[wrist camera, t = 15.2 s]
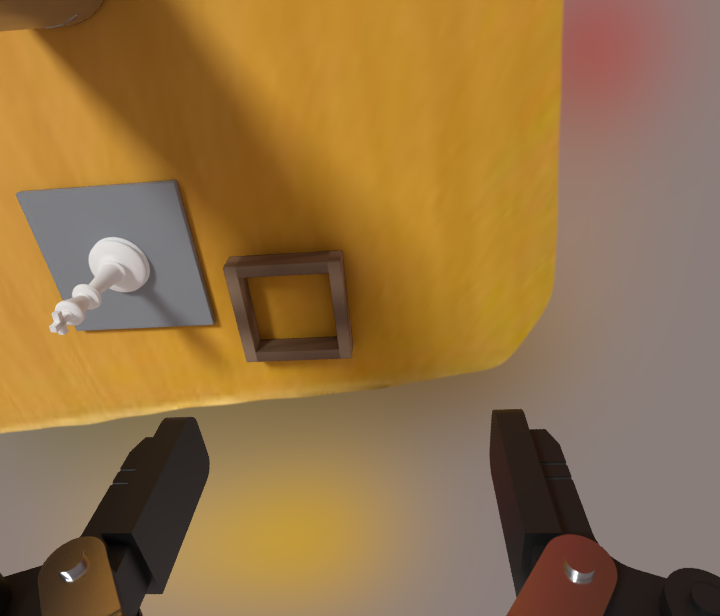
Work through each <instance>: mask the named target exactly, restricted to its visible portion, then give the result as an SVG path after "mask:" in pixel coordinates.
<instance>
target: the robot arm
mask: <svg viewBox="0 0 720 616" xmlns="http://www.w3.org/2000/svg"><path fill="white" fill-rule="evenodd" d="M102 2H103V0H0V31H11V30H24V29H36V28H41V29H44V28H45V29H46V28H55V27H61V26H69V25H73V24H77V23H80V22H82V21H83V20H85V19H87V18H89V17H90V16H92V14H93V13H94V12H95V11H96V10H97V9H98V8H99V7H100V6H101V4H102ZM490 467H491V475H492V480H493V485H494V490H495V494H496V499H497V504H498V509H499V514H500V519H501V523H502V528H503V533H504V538H505V543H506V548H507V553H508V558H509V563H510V568H511V572H512V577H513V582H514V587H515V591H516V597H517V598H516V600H515V602H514V603H513V605H512V607H511V608H510V610H509V612H508V614H507V615H506V616H720V577H718V576H716V575H714V574H712V573H709V572H707V571H704V570H700V569H694V568H683V569H678V570H677V571H674V572H673V573H671V574H670V575H669V577H668V578H663V577H660V576H656V575H653V574H650V573H646V572H642V571H640V570H636V569H633V568H630V567H628V566H626V565H624V564H622V563H620V562H618V561H617V560H615V559H613V558H612V557H611V556H610V555H609V554H608V552H607V551H606V550H605V549H604V548H603V547H601V546H600V545H599V544H598V542H597V541H596V539H595V537H594V535H593V533H592V530H591V528H590V525H589V522H588V520H587V517H586V514H585V512H584V509H583V506H582V504H581V501H580V498H579V495H578V493H577V490H576V488H575V485H574V482H573V480H572V479H571V474H570V472H569V469H568V466H567V465H566V461H565V458H564V455H563V453H562V450H561V447H560V445H559V443H558V442H557V441H556V440H555V439H554V438H553V437H552V436H551V435H550V434H549V433H548V432H547V430H545V429H534V430H533V429H531V430H529V427H528V424H527V421H526V417H525V414H524V412H523V410H522V409H508V410H507V409H506V410H493V411H492V420H491V436H490ZM208 474H209V456H208V453H207V450H206V447H205V444H204V441H203V438H202V435H201V432H200V429H199V426H198V423H197V421H196V419H195V418H194V417H177V418H176V417H174V418H165V419H164V420H163V421H162V422H161V424H160V426H159V427H158V429H157V431H156V433H155V435H154V437H147V438H145V439H143V440H142V441H141V442H140V443H139V444H138V445H137V446H136V447H135V448H134V449H133V450H132V451H131V452H130V453H129V455H128V456H127V458H126V460H125V461H124V463H123V465H122V467H121V471H120V472H118V474H117V475H116V477H115V479H114V480H113V485H111V486H110V487H109V489H108V491H107V492H106V494H105V496H104V497H103V499H102V501H101V502H100V504H99V506H98V508H97V509H96V511H95V513H94V514H93V516H92V518H91V520H90V521H89V523H88V525H87V527H86V528H85V530H84V532H83V533H82V535H81V536H80V537H79V538H76V539H73V540H71V541H69V542H67V543H65V544H63V545H62V546H60V547H59V548H58V549H56V550H55V551H54V552H53V553H52V554H51V555H50V556H49V557H48V558H47V560H46V561H45V562H44V564H43V565H42V566H39V567H36V568H32V569H29V570H26V571H22V572H19V573H16V574H12V575H9V576H6V577H3V576H2V575H1V573H0V616H143V614H142V612H141V609H140V606H141V603H142V601H143V598H144V596H145V594H163V591H164V589H165V586H166V584H167V581H168V579H169V576H170V573H171V571H172V568H173V566H174V563H175V561H176V558H177V555H178V553H179V550H180V548H181V545H182V543H183V540H184V537H185V535H186V532H187V530H188V527H189V525H190V522H191V520H192V517H193V514H194V512H195V509H196V506H197V504H198V501H199V499H200V496H201V494H202V491H203V489H204V486H205V484H206V481H207V478H208Z"/></svg>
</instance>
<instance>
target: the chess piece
mask: <svg viewBox="0 0 720 616" xmlns="http://www.w3.org/2000/svg"><path fill="white" fill-rule="evenodd" d="M89 266H90V269H91V271H92V273H93V275H94V276H95V277H94V279H93V280H92V281H91V283H90V284H89V285H87V284H80V285H77V286H76V287H75V288H74V289H73V292H72V297H73V298H71V299H67V300H64V301H61V302H59V303H58V304H57V305H56V308H55V311H54V312H53V313H52V314H51V315H52V317H53V320H54V322H53V323H52V324H51V325H50V326H49V328H50V331H51V332H58V333H59V335H65V334H66V333H67V332H68V328H67V325H66V324H68V325H73V326H75V325H79V324H81V323H82V322H83V321H84V319H85V316H86V312H87V310H92V309H95V308H97V307H99V306H100V304H101V302H102V299H101V295H100V294H101V293H103V292H104V291H105V290H107V289H108V288H109V289H112V290H114V291H118V292H132V291H135V290H137V289H139V288H140V287H141V286H143V285H144V284H145V283H146V282H147V280H148V278H149V275H150V266H149V262H148V260H147V258H146V256H145V254H144V253H143V252H142V251H141V250H140V249H139V248H138V247H137V246H136V245H135V244H133V243H132V242H130V241H128V240H125V239H122V238H118V237H108V238H104V239H102V240H100V241H98V242H97V243H96V244H95V245H94V247H93V248H92V249H91V251H90V254H89Z"/></svg>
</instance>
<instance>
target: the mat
mask: <svg viewBox="0 0 720 616" xmlns="http://www.w3.org/2000/svg"><path fill="white" fill-rule="evenodd" d="M16 196H17V199H18V201H19V203H20V205H21V207H22V210H23V212H24V214H25V216H26V219H27V221H28V223H29V225H30V227H31V230H32V232H33V234H34V236H35V239H36V241H37V243H38V245H39V248H40V250H41V252H42V254H43V256H44V259H45V261H46V263H47V265H48V268H49V270H50V272H51V274H52V277H53V279H54V281H55V283H56V285H57V288H58V290H59V292H60V294H61V297H62V299H63V301H64V300H67V299H71V298H73V297H72V292H73V289H74V288H75V287H76V286H77V285H80V284H87V285H89V284H90V283H91V281H92V280H93V279H94V277H95V276H94V275H93V273H92V271H91V269H90V266H89V254H90V251H91V249H92V248H93V247H94V245H95V244H96V243H97V242H98V241H100V240H102V239H104V238H108V237H118V238H122V239H125V240H128V241H130V242H132V243H133V244H135V245H136V246H137V247H138V248H139V249H140V250H141V251H142V252H143V253H144V254H145V256H146V258H147V260H148V262H149V266H150V275H149V278H148V280H147V282H146V283H145V284H144V285H143V286H141V287H140V288H139V289H137V290H135V291H132V292H118V291H114V290H112V289H109V288H108V289H107V290H105V291H104V292H103V293H101V294H100V295H101V299H102V302H101V304H100V306H99V307H97V308H95V309H92V310H87V312H86V316H85V319H84V321H83V322H82V323H81V324H79V325H75V328H76V330H77V331H83V330H106V329H128V328H150V327H173V326H195V325H214V323H215V318H214V314H213V311H212V307H211V303H210V300H209V296H208V293H207V289H206V285H205V282H204V278H203V275H202V271H201V267H200V264H199V260H198V257H197V253H196V249H195V246H194V242H193V239H192V235H191V231H190V228H189V224H188V221H187V217H186V213H185V210H184V206H183V203H182V199H181V195H180V192H179V188H178V185H177V181H176V180H171V181H157V182H143V183H129V184H116V185H102V186H88V187H75V188H61V189H47V190H34V191H20V192H18V193H16Z"/></svg>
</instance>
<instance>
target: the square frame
mask: <svg viewBox="0 0 720 616" xmlns="http://www.w3.org/2000/svg"><path fill="white" fill-rule="evenodd" d="M223 270H224V274H225V278H226V282H227V286H228V290H229V294H230V298H231V302H232V306H233V310H234V314H235V318H236V322H237V325H238V329H239V333H240V337H241V341H242V345H243V349H244V353H245V357H246V361H247V362H262V361H289V360H316V359H342V358H352V350H353V340H352V332H351V323H350V315H349V306H348V298H347V289H346V280H345V272H344V263H343V255H342V250H341V251H324V252H307V253H289V254H272V255H254V256H237V257H229V259H228V260H227V262H226V264H225V265H224V267H223ZM322 273H329V279H330V286H331V294H332V301H333V308H334V316H335V323H336V331H337V337H316V338H292V339H268V340H260V336H259V331H258V327H257V322H256V318H255V314H254V309H253V305H252V301H251V296H250V292H249V288H248V283H247V279H246V278H247V277H265V276H284V275H303V274H322Z"/></svg>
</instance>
